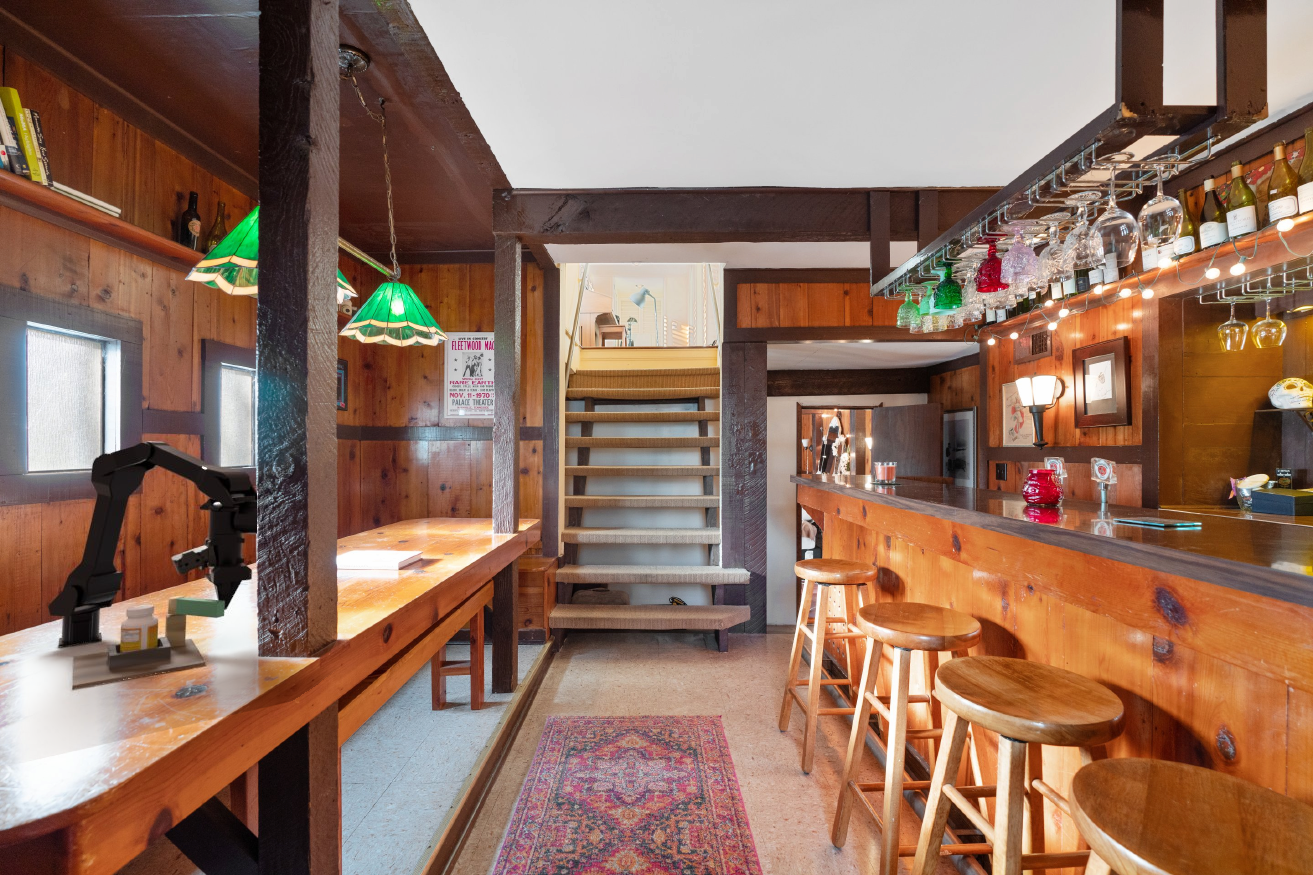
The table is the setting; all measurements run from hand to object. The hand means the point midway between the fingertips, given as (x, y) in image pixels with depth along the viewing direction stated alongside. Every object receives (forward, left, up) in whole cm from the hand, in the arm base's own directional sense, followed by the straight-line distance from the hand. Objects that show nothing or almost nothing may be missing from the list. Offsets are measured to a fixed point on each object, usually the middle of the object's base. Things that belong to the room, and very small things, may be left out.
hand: (223, 609), depth 125 cm
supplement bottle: (0, -13, -7) cm, 15 cm away
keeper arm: (-2, -4, -1) cm, 5 cm away
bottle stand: (0, -13, -8) cm, 15 cm away
